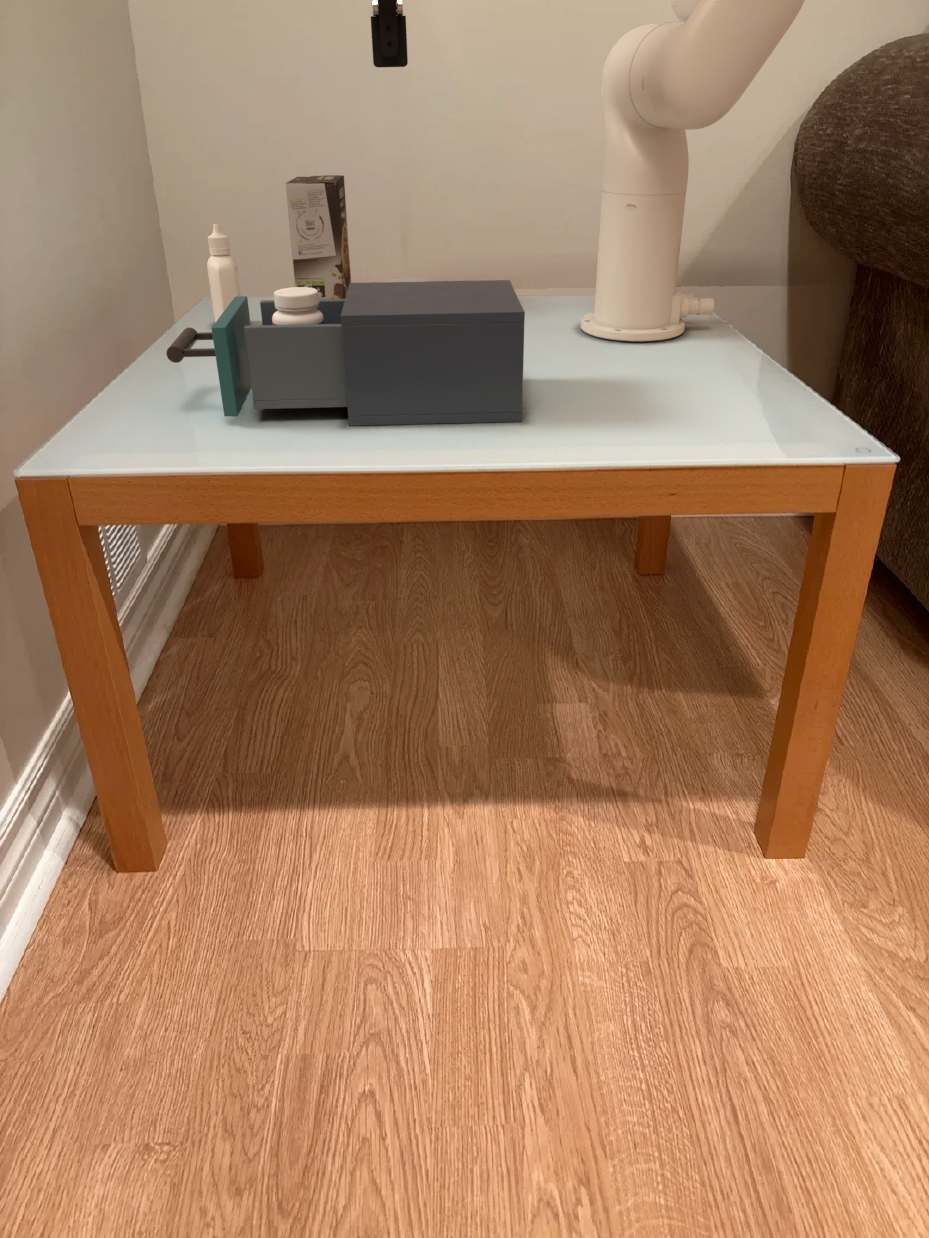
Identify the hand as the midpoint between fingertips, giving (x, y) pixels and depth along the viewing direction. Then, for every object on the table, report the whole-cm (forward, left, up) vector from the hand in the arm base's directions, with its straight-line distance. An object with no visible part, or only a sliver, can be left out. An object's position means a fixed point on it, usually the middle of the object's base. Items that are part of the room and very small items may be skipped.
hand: (391, 67), depth 90 cm
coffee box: (+10, -22, -28) cm, 37 cm away
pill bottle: (+9, +18, -26) cm, 33 cm away
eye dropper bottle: (+22, -14, -28) cm, 39 cm away
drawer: (+11, +18, -27) cm, 34 cm away
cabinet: (-3, +18, -28) cm, 33 cm away
